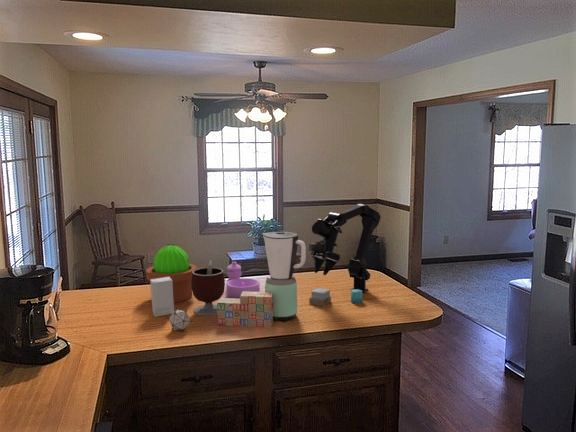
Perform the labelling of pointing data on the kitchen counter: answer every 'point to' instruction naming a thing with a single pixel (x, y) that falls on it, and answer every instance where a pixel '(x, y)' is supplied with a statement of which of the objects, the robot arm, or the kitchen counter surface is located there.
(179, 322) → the game die
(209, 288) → the mate gourd
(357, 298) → the teal domed cylinder
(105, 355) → the kitchen counter surface
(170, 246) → the potted cactus
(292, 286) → the blender
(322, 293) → the tower top
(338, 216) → the robot arm
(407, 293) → the kitchen counter surface
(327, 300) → the tower base
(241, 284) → the purple toy boat
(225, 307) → the stack of blocks
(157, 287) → the skincare box
